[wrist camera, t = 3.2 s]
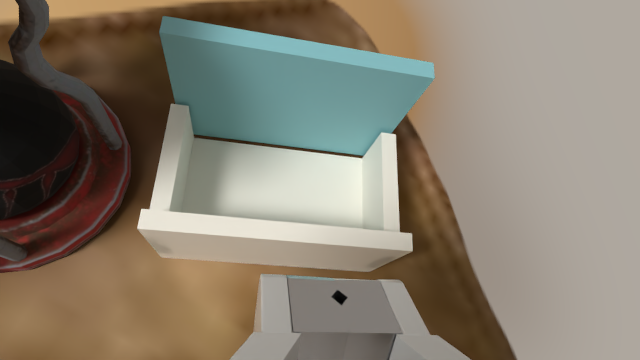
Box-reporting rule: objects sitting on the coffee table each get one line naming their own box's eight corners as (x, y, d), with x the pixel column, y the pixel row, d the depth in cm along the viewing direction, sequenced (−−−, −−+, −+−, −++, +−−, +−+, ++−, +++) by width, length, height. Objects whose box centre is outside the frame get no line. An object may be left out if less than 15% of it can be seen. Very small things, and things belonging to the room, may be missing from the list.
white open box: (368, 272, 34) (412, 251, 26) (161, 257, 31) (137, 228, 23) (367, 168, 38) (405, 121, 30) (181, 146, 35) (167, 87, 27)
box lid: (372, 156, 36) (434, 78, 25) (182, 132, 33) (159, 32, 22) (372, 137, 37) (432, 52, 26) (185, 112, 34) (165, 5, 23)
